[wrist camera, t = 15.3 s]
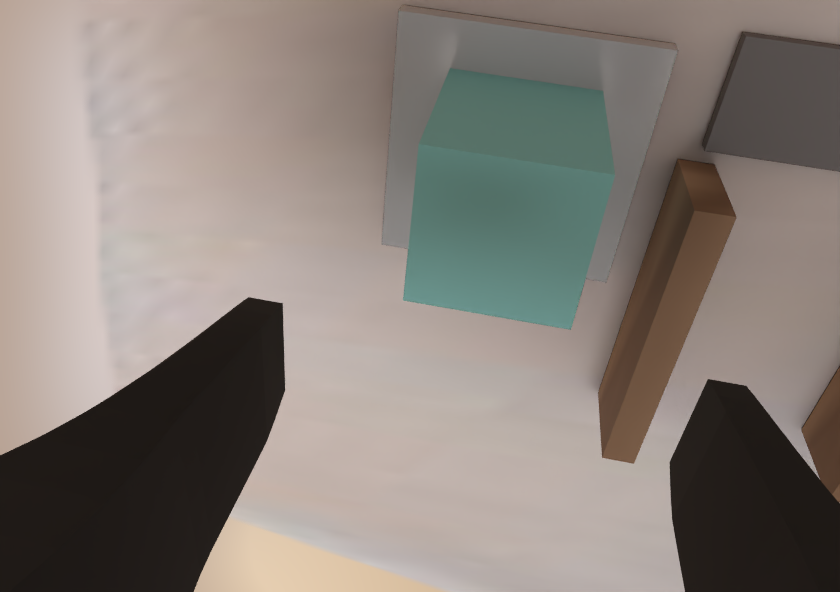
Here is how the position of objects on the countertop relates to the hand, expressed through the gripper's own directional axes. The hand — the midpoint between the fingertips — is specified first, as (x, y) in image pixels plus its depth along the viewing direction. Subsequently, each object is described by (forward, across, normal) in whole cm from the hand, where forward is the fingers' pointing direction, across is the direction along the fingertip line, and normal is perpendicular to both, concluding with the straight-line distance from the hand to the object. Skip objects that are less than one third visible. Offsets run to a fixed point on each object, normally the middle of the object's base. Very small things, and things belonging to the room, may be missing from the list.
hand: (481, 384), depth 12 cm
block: (+9, 0, 0) cm, 9 cm away
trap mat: (+10, -8, -2) cm, 13 cm away
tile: (+10, 0, 0) cm, 10 cm away
